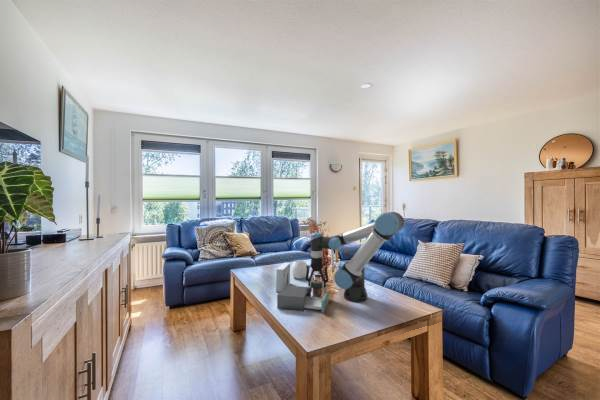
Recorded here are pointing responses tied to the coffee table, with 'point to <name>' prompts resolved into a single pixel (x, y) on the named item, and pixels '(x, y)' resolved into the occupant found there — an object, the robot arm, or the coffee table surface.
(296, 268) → the cup
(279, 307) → the player housing
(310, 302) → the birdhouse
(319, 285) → the puck
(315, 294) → the walnut block
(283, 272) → the skincare box
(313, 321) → the coffee table surface
